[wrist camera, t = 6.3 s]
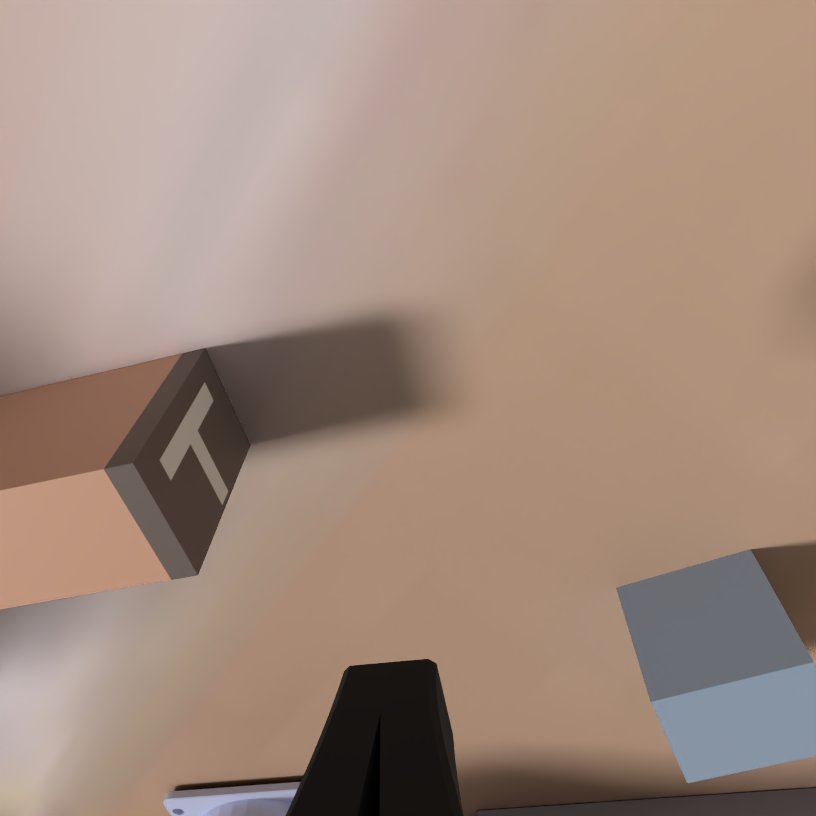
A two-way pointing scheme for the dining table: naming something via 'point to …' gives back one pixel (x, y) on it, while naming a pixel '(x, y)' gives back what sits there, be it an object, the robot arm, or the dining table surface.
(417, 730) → the robot arm
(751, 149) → the dining table surface
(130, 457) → the tan cuboid
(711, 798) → the glasses tray
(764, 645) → the slate block
